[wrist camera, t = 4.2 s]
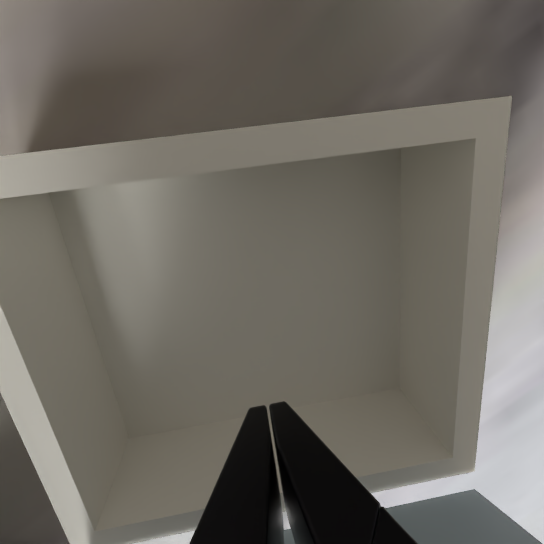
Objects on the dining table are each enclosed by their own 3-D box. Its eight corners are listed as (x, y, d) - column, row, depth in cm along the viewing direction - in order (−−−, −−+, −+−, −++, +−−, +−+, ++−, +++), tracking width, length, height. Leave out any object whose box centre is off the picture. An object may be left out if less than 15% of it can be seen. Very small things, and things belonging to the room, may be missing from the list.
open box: (411, 392, 18) (474, 471, 14) (117, 448, 17) (75, 555, 12) (416, 119, 14) (512, 95, 9) (20, 167, 13) (-104, 168, 8)
